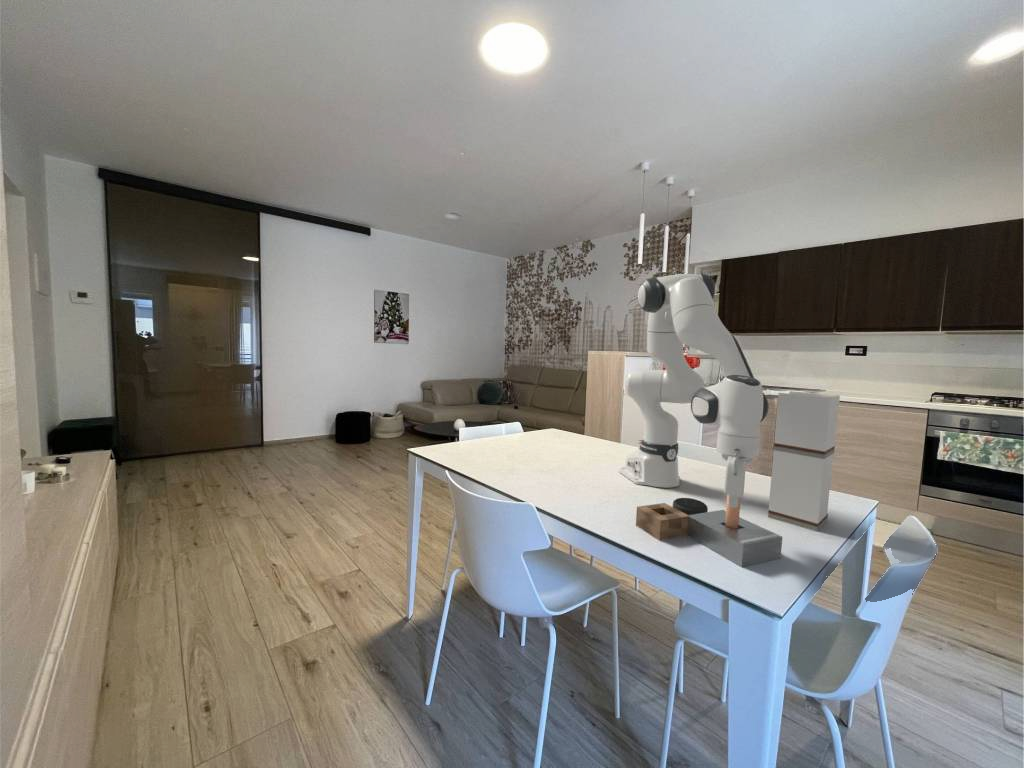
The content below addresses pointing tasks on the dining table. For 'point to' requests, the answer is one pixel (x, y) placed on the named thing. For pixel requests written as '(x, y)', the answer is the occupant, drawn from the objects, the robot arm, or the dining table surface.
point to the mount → (662, 521)
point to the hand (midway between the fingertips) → (733, 503)
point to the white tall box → (803, 458)
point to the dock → (734, 538)
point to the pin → (732, 515)
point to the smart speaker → (690, 506)
